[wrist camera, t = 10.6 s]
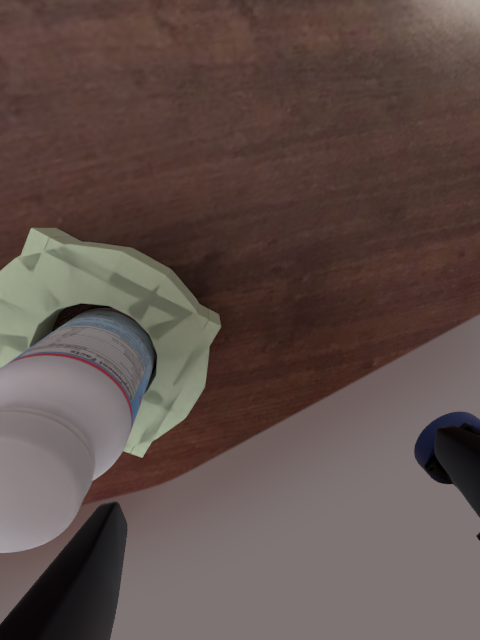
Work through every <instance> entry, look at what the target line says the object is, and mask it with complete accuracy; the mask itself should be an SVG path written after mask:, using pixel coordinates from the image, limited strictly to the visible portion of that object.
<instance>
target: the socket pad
mask: <svg viewBox="0 0 480 640" xmlns="http://www.w3.org/2000/svg"><path fill="white" fill-rule="evenodd" d="M81 303H84V304H94V305H103V306H110V307H112V308H114V309H116V310H118V311H120V312H122V313H124V314H126V315H129V316H131V317H133V318H134V320H135V321H136V322H137V323H138V324H139V325H140V326H141V327H142V328H143V329H144V330H145V331H146V332H147V333H148V334H149V335H150V338H151V340H152V343H153V346H154V348H155V351H156V353H157V364H156V369H155V370H154V372H153V374H152V375H151V376H150V379H149V382H148V385H147V387H146V390H145V393H144V396H143V399H142V401H141V404H140V407H139V410H138V413H137V416H136V418H135V421H134V424H133V427H132V430H131V432H130V435H129V438H128V440H127V443H126V445H125V447H124V450H123V451H125V452H127V453H130V452H131V454H133V455H136V456H139V457H143V456H144V454H145V453H146V451H147V449H148V448H149V446H150V444H151V443H152V441H153V440H156V439H157V438H159V437H160V436H162V435H163V434H164V433H166V432H167V431H169V430H170V429H171V428H173V427H174V426H175V425H177V424H178V423H180V422H181V421H182V420H184V419H185V418H186V417H187V415H188V414H189V412H190V411H191V409H192V407H193V406H194V404H195V403H196V401H197V399H198V398H199V396H200V394H201V393H202V391H203V390H204V388H205V384H206V376H207V368H208V360H209V352H210V349H209V346H210V345H211V343H212V341H213V340H214V338H215V336H216V335H217V333H218V331H219V330H220V328H221V322H220V317H219V314H217V313H216V312H214V311H212V310H210V309H208V308H206V307H204V306H202V305H201V304H199V302H198V300H197V299H196V298H195V297H194V295H193V294H192V293H191V292H190V291H189V289H188V288H187V287H186V286H185V285H184V284H183V282H182V281H181V280H180V279H179V278H178V276H177V275H176V274H175V273H174V272H173V270H171V269H170V268H168V267H166V266H165V265H163V264H161V263H159V262H157V261H155V260H154V259H152V258H150V257H148V256H146V255H145V254H143V253H141V252H139V251H137V250H136V249H134V248H131V247H124V246H116V245H109V244H102V243H95V242H88V241H87V242H82V241H80V240H78V239H76V238H74V237H72V236H70V235H69V234H67V233H65V232H63V231H61V230H59V229H57V228H31V230H30V233H29V235H28V238H27V240H26V243H25V245H24V248H23V250H22V253H21V256H18V257H16V258H15V259H14V260H13V261H11V262H10V263H9V264H8V265H7V266H5V267H4V268H3V269H2V270H1V271H0V368H2V367H3V366H4V365H6V364H7V363H9V362H10V361H12V360H13V359H15V358H16V357H17V356H19V355H20V354H22V353H23V352H25V351H26V350H27V349H29V348H30V347H32V346H33V345H35V344H36V343H38V342H39V341H40V340H42V339H43V338H45V337H46V336H47V335H49V334H50V333H52V329H53V327H54V325H55V322H56V320H57V318H58V316H59V313H60V312H61V311H62V310H64V309H65V308H66V307H70V306H74V305H77V304H81Z"/></svg>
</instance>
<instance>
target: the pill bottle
mask: <svg viewBox="0 0 480 640" xmlns="http://www.w3.org/2000/svg"><path fill="white" fill-rule="evenodd" d="M155 360H156V351H155V348H154V346H153V343H152V340H151V338H150V335H149V334H148V333H147V332H146V331H145V330H144V329H143V328H142V327H141V326H140V325H139V324H138V323H137V322H136V321H135V320H134V318H133V317H131V316H129V315H126V314H124V313H122V312H120V311H118V310H116V309H112V308H97V309H92V310H88V311H85V312H83V313H81V314H79V315H77V316H75V317H74V318H72V319H71V320H69V321H68V322H67V323H65V324H64V325H62V326H61V327H59V328H58V329H56V330H55V331H53V332H52V333H50V334H49V335H47V336H46V337H45V338H43V339H42V340H40V341H39V342H38V343H36V344H35V345H33V346H32V347H30V348H29V349H27V350H26V351H25V352H23V353H22V354H20V355H19V356H17V357H16V358H15V359H13V360H12V361H10V362H9V363H7V364H6V365H4V366H3V367H2V368H0V553H7V552H17V551H23V550H28V549H30V548H34V547H37V546H40V545H42V544H45V543H47V542H49V541H50V540H52V539H54V538H56V537H57V536H58V535H60V534H61V533H62V532H63V531H64V530H65V529H66V528H67V527H68V526H69V525H70V524H71V522H72V521H73V519H74V518H75V516H76V514H77V513H78V511H79V508H80V506H81V504H82V502H83V499H84V497H85V495H86V494H87V492H88V490H89V488H90V486H91V483H92V481H93V480H95V479H96V478H98V477H99V476H101V475H102V474H103V473H105V472H106V471H107V470H108V469H109V468H110V467H111V466H112V465H113V464H114V463H115V462H116V460H117V459H118V458H119V456H120V455H121V453H122V451H123V450H124V447H125V445H126V443H127V440H128V438H129V435H130V432H131V430H132V427H133V424H134V421H135V418H136V416H137V413H138V410H139V407H140V404H141V401H142V399H143V396H144V393H145V390H146V387H147V385H148V382H149V379H150V376H151V373H152V370H153V368H154V364H155Z"/></svg>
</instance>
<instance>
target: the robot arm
mask: <svg viewBox="0 0 480 640" xmlns="http://www.w3.org/2000/svg"><path fill="white" fill-rule="evenodd" d="M434 451H435V454H434V455H433V456H432V458H431V459H430V460H429V461H428V462H427V463H426V464H425V466H424V468H425V470H426V471H427V472H429V473H431V474H433V475H435V476H437V477H439V478H442V479H444V480H446V481H448V482H450V483H452V484H454V485H455V486H456V487H457V488H458V489H459V490H460V492H461V493H462V494H463V495H464V497H465V498H466V500H467V501H468V502H469V504H470V505H471V506H472V508H473V509H474V511H475V512H476V513H477V515H478V516H479V517H480V429H478V428H476V427H475V426H473V425H471V424H469V423H467V422H465V423H463V424H462V425H461V426H460V427H459V428H458V427H455V426H445V427H441V428H438V429H437V430H436V435H435V448H434ZM126 537H127V522H126V519H125V517H124V515H123V512H122V510H121V508H120V505H119V504H118V502H116V501H113V502H109V503H104V504H102V505H100V506H99V507H98V508H97V509H96V510H95V512H94V513H93V514H92V515H91V516H90V517H89V519H88V520H87V521H86V522H85V523H84V525H83V526H82V527H81V528H80V530H79V531H78V532H77V533H76V534H75V536H74V537H73V538H72V539H71V540H70V541H69V543H68V544H67V545H66V546H65V547H64V549H63V550H62V551H61V553H59V555H58V556H57V557H56V558H55V559H54V561H53V562H52V563H51V564H50V565H49V567H48V568H47V569H46V570H45V571H44V573H43V574H42V575H41V576H40V577H39V579H38V580H37V581H36V582H35V583H34V585H33V586H32V587H31V588H30V590H29V591H28V592H27V593H26V594H25V595H24V597H23V598H22V599H21V600H20V601H19V603H18V604H17V605H16V606H15V607H14V609H13V610H12V611H11V612H10V613H9V615H8V616H7V617H6V618H5V619H4V621H3V622H2V623H1V624H0V640H110V637H111V632H112V628H113V623H114V619H115V614H116V608H117V603H118V597H119V590H120V582H121V575H122V567H123V560H124V552H125V545H126ZM477 538H478V539H479V540H480V533H479V534H478V535H477Z"/></svg>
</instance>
